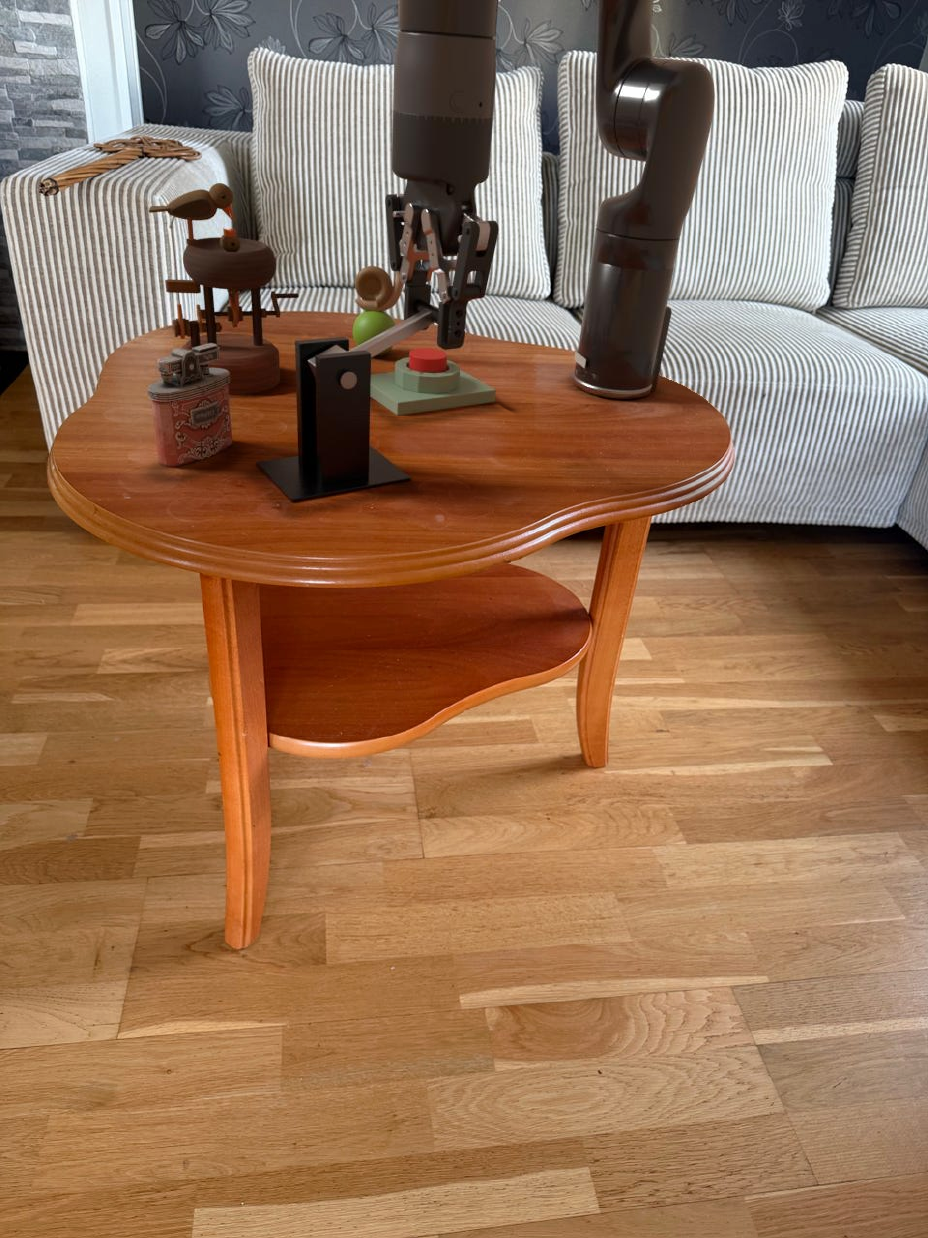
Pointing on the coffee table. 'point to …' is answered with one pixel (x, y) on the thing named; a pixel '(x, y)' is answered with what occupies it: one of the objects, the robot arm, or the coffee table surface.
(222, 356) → the bird automaton
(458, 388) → the button box
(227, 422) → the lighter
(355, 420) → the bracket
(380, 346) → the lever
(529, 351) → the coffee table surface
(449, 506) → the coffee table surface
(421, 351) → the button
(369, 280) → the snail figurine
